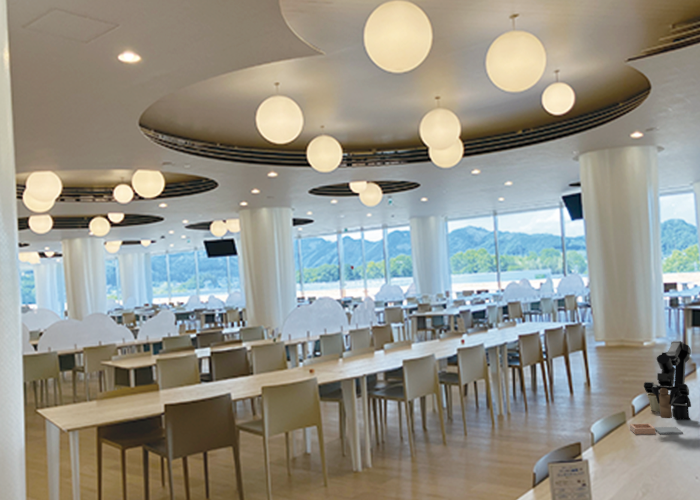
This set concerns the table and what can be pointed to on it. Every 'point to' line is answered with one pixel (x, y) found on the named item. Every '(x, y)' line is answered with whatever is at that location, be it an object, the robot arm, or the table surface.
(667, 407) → the pepper mill
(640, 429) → the pink square tray
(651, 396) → the flower pot
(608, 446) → the table surface
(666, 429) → the plate
